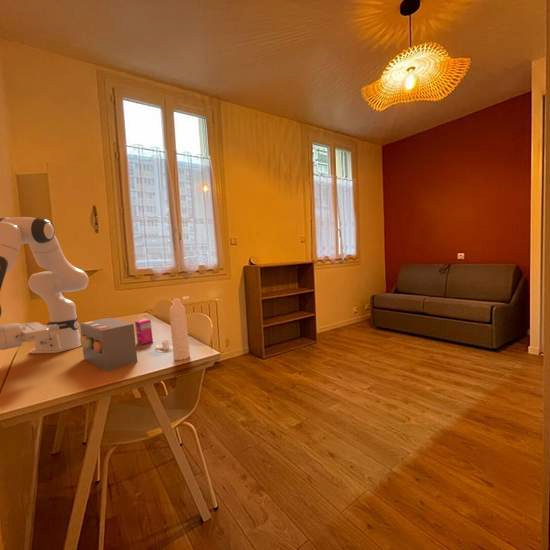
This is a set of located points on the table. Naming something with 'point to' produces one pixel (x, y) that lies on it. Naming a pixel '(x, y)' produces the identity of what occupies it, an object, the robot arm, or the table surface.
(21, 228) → the robot arm
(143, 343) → the supplement box
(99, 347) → the terracotta button
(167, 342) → the teacup and saucer
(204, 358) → the table surface
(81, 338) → the ochre button
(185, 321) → the water bottle
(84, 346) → the sage button
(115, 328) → the box
